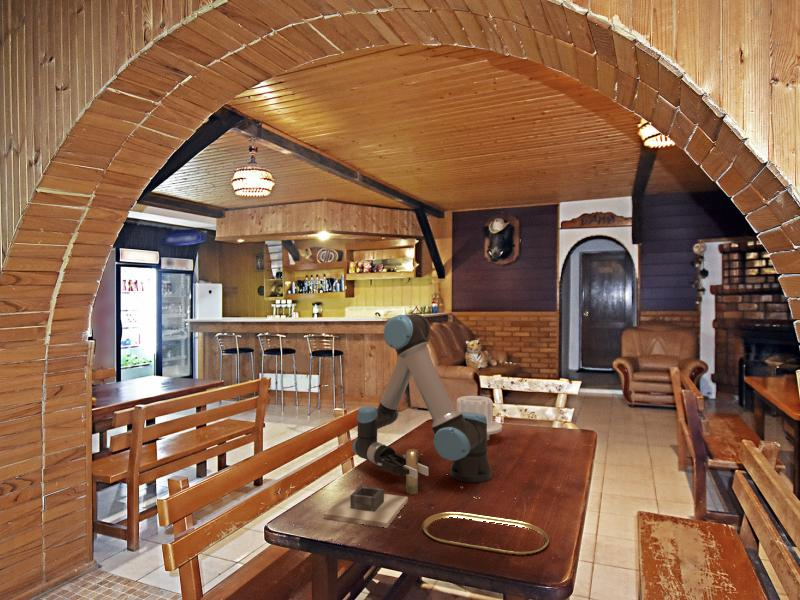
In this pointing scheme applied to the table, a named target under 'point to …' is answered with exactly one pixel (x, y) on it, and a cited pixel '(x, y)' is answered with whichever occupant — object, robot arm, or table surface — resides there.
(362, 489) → the socket board
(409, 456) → the brass post
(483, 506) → the table surface
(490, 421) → the flanged gear
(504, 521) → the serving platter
